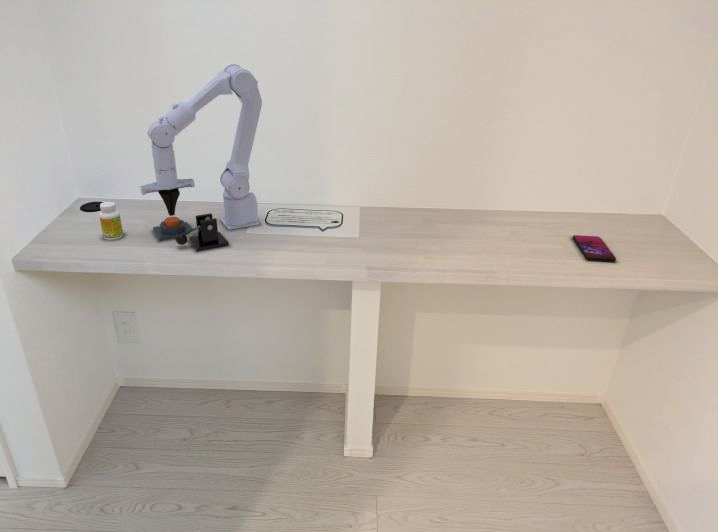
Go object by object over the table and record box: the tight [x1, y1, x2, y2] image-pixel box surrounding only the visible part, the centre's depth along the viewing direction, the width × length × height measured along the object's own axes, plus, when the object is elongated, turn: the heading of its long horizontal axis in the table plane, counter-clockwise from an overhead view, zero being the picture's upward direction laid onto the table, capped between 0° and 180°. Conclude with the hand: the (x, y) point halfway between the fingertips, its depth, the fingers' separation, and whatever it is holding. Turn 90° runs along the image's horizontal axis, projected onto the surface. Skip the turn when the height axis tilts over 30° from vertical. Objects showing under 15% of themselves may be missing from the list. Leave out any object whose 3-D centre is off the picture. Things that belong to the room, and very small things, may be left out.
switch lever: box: [175, 216, 210, 246], centre depth 156 cm, size 11×3×3 cm, turn 116°
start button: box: [164, 216, 180, 227], centre depth 164 cm, size 4×4×2 cm
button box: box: [152, 218, 193, 242], centre depth 165 cm, size 10×8×3 cm
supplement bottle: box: [98, 201, 124, 241], centre depth 161 cm, size 5×5×10 cm
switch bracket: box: [188, 212, 230, 253], centre depth 158 cm, size 9×8×8 cm
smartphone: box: [572, 234, 617, 262], centre depth 159 cm, size 8×1×15 cm
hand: (171, 214), depth 163 cm, fingers closed
